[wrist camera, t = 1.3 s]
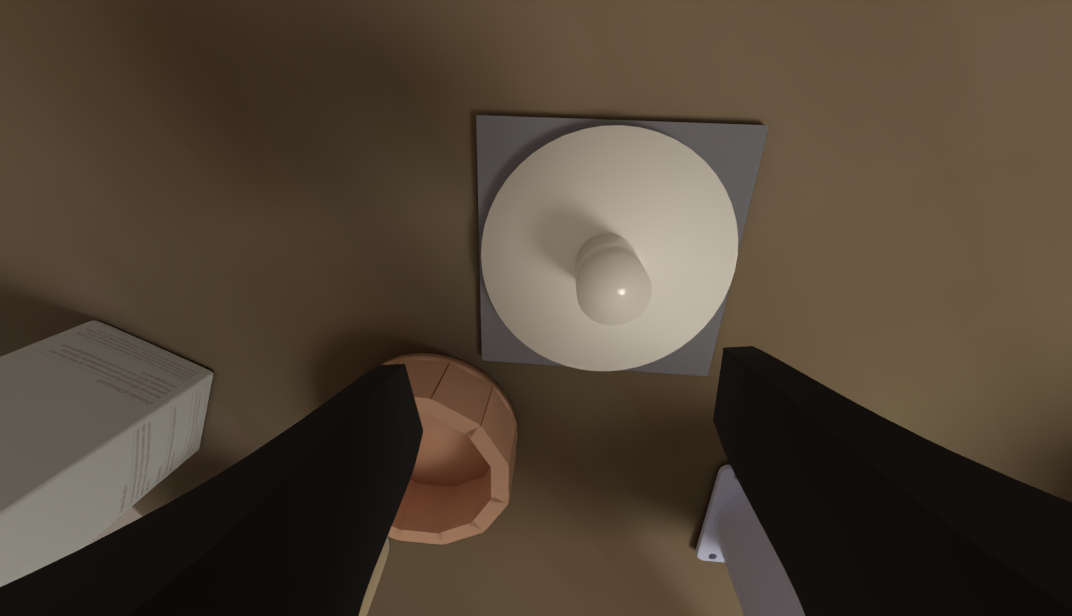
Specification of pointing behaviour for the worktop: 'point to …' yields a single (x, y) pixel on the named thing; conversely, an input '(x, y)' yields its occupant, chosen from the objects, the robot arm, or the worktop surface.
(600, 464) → the worktop surface
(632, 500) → the worktop surface
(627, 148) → the lid
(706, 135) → the mat
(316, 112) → the worktop surface
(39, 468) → the supplement box
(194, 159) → the worktop surface
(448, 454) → the ramekin
